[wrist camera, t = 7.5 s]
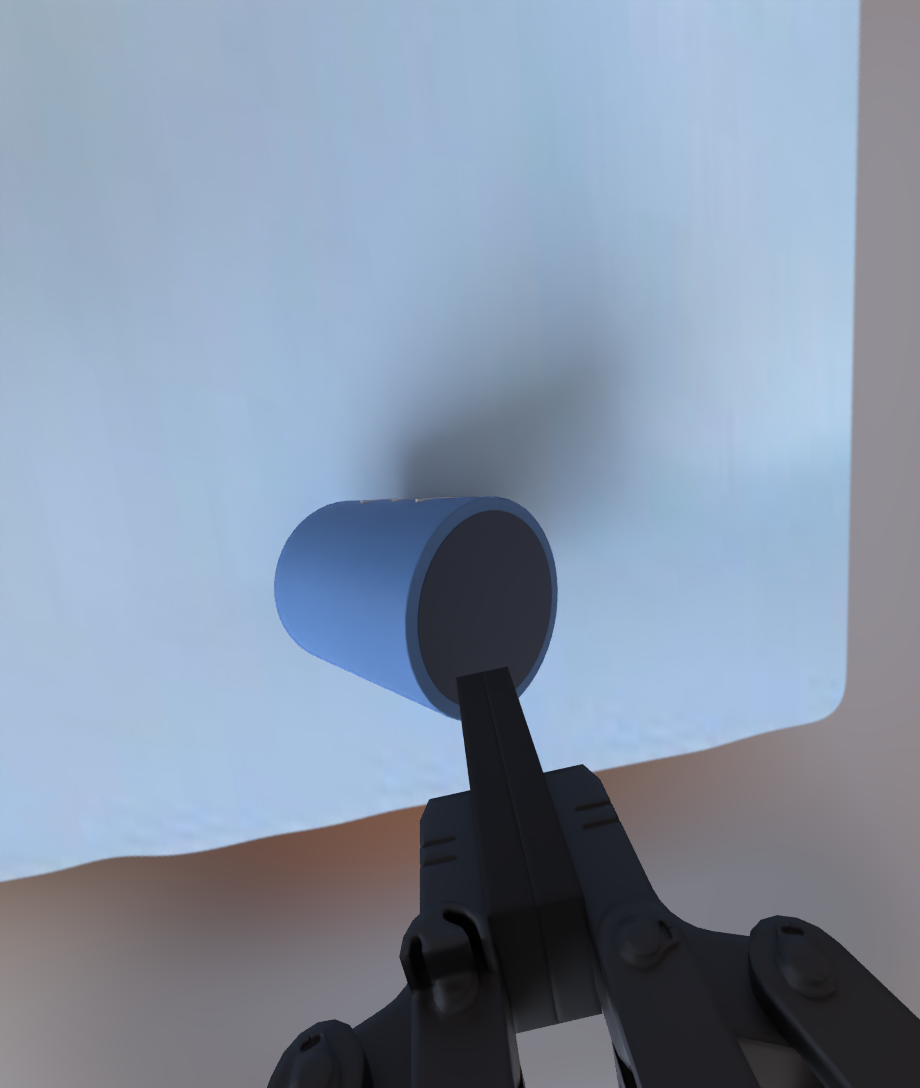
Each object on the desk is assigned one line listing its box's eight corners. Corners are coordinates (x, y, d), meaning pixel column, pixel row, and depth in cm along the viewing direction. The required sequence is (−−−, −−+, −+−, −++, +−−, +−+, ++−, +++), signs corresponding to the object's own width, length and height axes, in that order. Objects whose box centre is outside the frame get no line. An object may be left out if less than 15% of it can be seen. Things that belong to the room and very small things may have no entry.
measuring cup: (419, 637, 28) (282, 682, 23) (410, 496, 28) (265, 505, 22) (561, 680, 21) (414, 761, 16) (556, 491, 20) (397, 502, 15)
